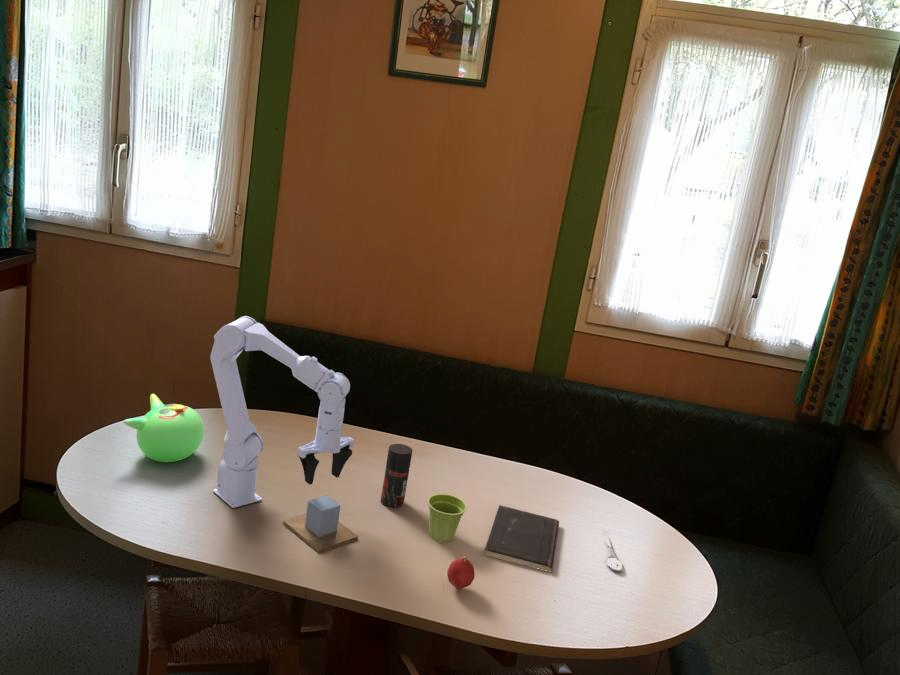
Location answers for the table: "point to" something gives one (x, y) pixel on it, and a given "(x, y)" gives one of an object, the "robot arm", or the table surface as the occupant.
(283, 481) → the table surface
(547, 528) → the hardcover book
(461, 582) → the onion
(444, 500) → the plant pot
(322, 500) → the pale blue cuboid
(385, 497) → the deodorant
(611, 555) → the spoon
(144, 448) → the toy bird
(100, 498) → the table surface
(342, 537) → the wooden board
